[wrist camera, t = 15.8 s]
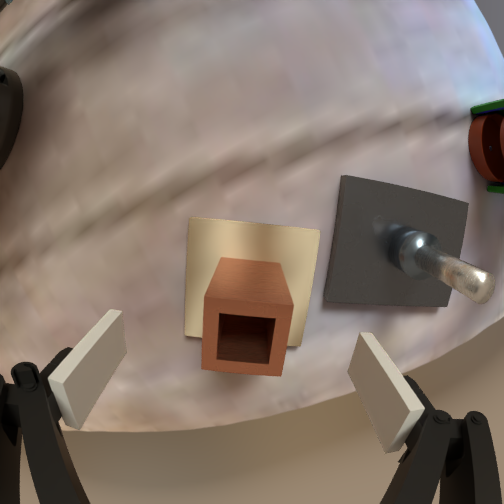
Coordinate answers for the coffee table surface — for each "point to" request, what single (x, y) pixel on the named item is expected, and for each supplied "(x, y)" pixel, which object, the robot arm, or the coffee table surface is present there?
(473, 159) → the motor
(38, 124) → the coffee table surface
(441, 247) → the grey peg stand
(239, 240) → the plywood pad
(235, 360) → the square copper sleeve
